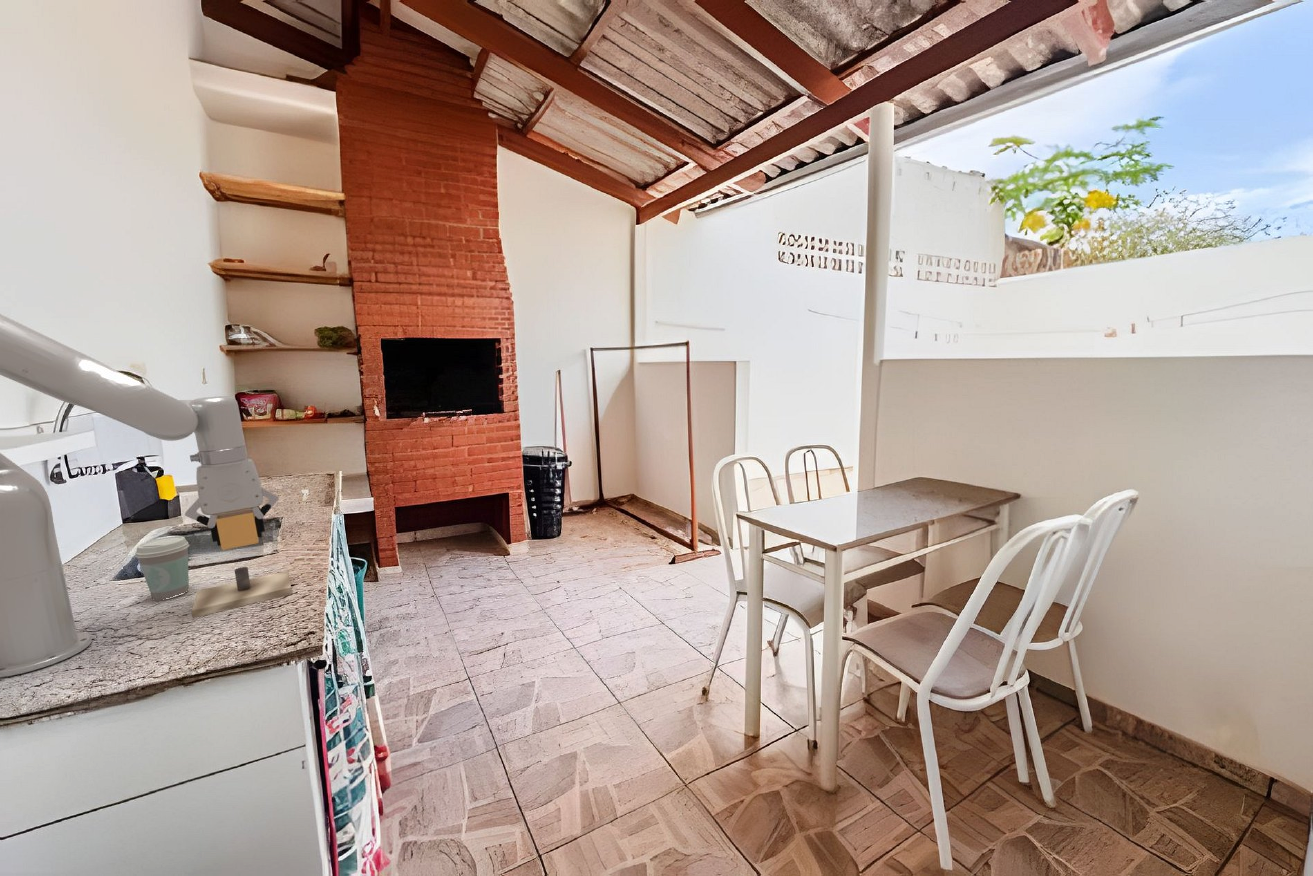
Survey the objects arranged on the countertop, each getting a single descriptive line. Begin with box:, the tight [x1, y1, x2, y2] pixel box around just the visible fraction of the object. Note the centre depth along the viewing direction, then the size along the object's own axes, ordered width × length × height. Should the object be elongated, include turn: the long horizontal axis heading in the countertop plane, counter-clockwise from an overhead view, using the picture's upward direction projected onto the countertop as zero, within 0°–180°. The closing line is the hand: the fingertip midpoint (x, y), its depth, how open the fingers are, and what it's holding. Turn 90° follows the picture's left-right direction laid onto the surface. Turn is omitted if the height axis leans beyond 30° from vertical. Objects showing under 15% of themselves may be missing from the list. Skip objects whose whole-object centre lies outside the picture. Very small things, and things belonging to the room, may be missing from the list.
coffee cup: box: [134, 535, 190, 601], centre depth 113 cm, size 8×8×12 cm
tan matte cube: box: [216, 509, 260, 551], centre depth 110 cm, size 6×6×6 cm
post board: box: [191, 566, 293, 618], centre depth 111 cm, size 16×12×6 cm
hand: (240, 539), depth 110 cm, fingers closed on tan matte cube, 5 cm apart
